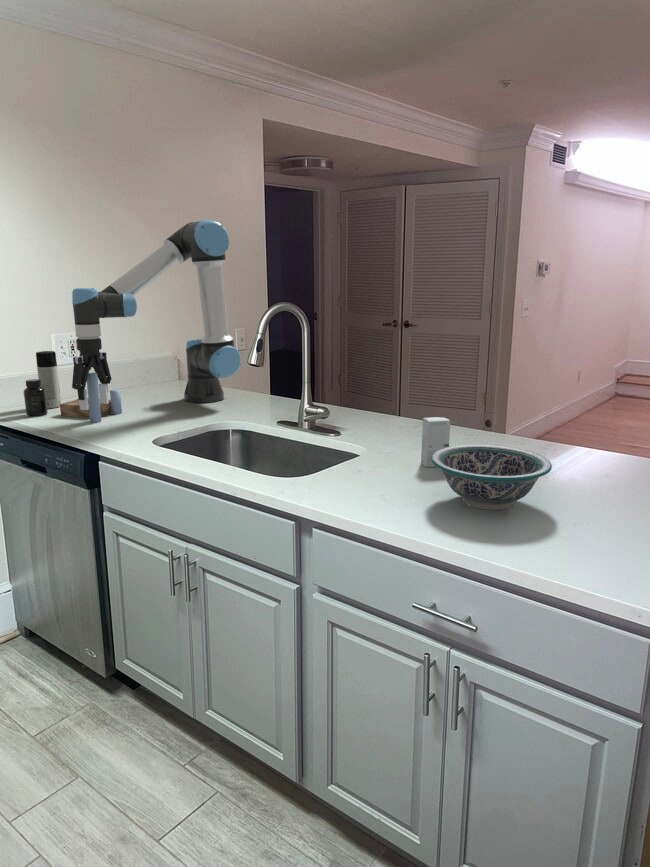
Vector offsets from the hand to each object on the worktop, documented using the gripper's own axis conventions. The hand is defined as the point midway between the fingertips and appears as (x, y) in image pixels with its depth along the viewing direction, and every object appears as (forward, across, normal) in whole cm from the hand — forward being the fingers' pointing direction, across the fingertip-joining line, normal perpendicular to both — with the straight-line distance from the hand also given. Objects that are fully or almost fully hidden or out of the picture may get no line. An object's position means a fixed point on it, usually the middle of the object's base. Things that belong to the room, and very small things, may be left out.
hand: (94, 406), depth 213 cm
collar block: (+5, -10, -10) cm, 15 cm away
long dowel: (+5, 0, 0) cm, 5 cm away
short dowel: (+5, -13, -1) cm, 14 cm away
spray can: (+5, -15, -30) cm, 34 cm away
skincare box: (+5, +14, +113) cm, 114 cm away
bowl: (+5, +38, +128) cm, 134 cm away
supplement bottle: (+5, -3, -26) cm, 27 cm away
